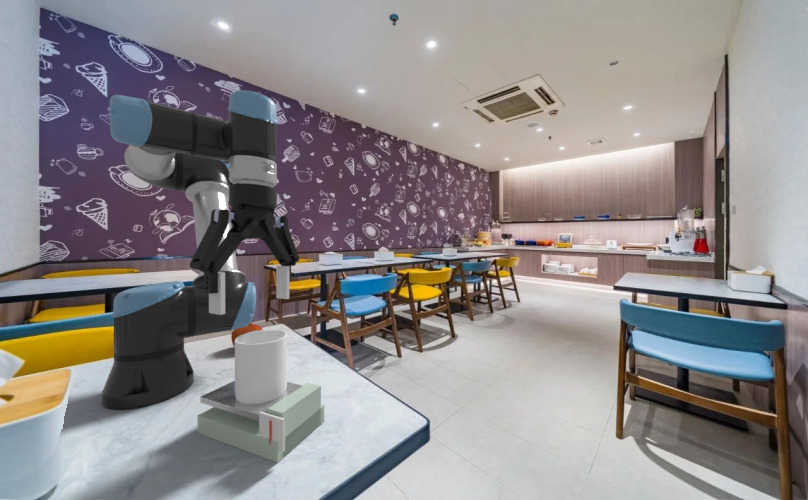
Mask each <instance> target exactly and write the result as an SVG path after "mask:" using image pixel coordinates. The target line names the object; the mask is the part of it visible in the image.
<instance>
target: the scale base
mask: <svg viewBox="0 0 808 500" xmlns="http://www.w3.org/2000/svg"><path fill="white" fill-rule="evenodd" d="M321 397H322V386H320V385H318V384H313V383H309V382H308V383H305V384H304V385H302V387H301V388H299V389H297V390H296V391H294V392H293V393H291V394H290V395H288V396H287V397H285V398H283V399H282V400H280V401H279V402H277V403H276V404H274V405H273V406H271V407H269V408H268V414H267V413H264V412H259V421H257V420H254V419H251V418H247V417H244V416H241V415H238V414H235V413H232V412H229V411H225V410H222V409H219V408H216V407H213V406H212V407H211V408H209V409H207V410H205V411H204V412H201V413H199V414H198V415H197V434H200V435H203V436H205V437H208V438H210V439H213V440H215V441H218V442H220V443H224V444H226V445H229V446H232V447H234V448H236V449H239V450H242V451H245V452H248V453H250V454H252V455H255V456H258V457H261V458H263V459H266V460H268V461H271V462H274V463H276V464H278V463H280V462H281V461H282V460H283V459H284V458H286V457H287V455H288V454H290V453H291V452H292V451H293V450H294V449H295V448H296V447H297V446H299V445H300V444H301V443H302V442H303V441H304V440H305V439H306V438H308V437H309V436H310V435H311V434H312V433H313V432H315V431H316V430H317V429H318V428H319V427H320V426H321V425H322V424H323V423H324V422H325V405H324V404H321V403H322V398H321Z"/></svg>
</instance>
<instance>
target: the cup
mask: <svg viewBox="0 0 808 500" xmlns="http://www.w3.org/2000/svg"><path fill="white" fill-rule="evenodd" d="M234 381H235V397H236V399H237V401H238V402H240V403H242V404H245V405H257V404H263V403H267V402H270V401H272V400H275V399H277V398H278V397H280V396H281V395H282V394H283V393H284V392H285V390H286V387H287V382H288V333H287V332H286V331H283V330H280V329H263V330H260V331H254V332H249V333H246V334H243V335H240V336H238V337H237V338H236V339H235V347H234Z"/></svg>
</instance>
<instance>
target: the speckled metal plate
mask: <svg viewBox="0 0 808 500" xmlns="http://www.w3.org/2000/svg"><path fill="white" fill-rule="evenodd" d="M302 386H303V384H297V383H293V382H289V381H287V387H286V390H285V392H284V393H283V394H282V395H281V396H280V397H278V398H277V399H275V400H272V401H270V402H267V403H263V404H257V405H245V404H242V403H240V402H238V401H237V399H236V397H235V380H233V381H231V382H229V383H226V384H224V385H223V386H220V387H218V388H216V389H214V390H212V391H209V392H208V393H205V394H203V395H201V396H200V398H199V400H200V404H203V405H207V406H210V407H212V408H213V407H216V408H219V409H222V410H225V411H229V412H232V413H235V414H238V415H241V416H244V417H247V418H251V419H254V420H257V421H259V412H264V413H267V414H268V408H269V407H271V406H273V405H274V404H276V403H277V402H279V401H280V400H282V399H283V398H285V397H287V396H288V395H290V394H291V393H293V392H294V391H296V390H297V389H299V388H301V387H302Z"/></svg>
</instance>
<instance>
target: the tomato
mask: <svg viewBox="0 0 808 500" xmlns="http://www.w3.org/2000/svg"><path fill="white" fill-rule="evenodd" d="M260 330H264V329H263V328H262V326H261V325H259V324H256V323H253V322H251V323H250V324H249V325H248V326H246V327H243V328H238V329H234V330H232V332H231V342H232V345H233V346H232V347H234V348H235V339H236V338H237V337H238V336H240V335H243V334H246V333H249V332H254V331H260Z"/></svg>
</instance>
